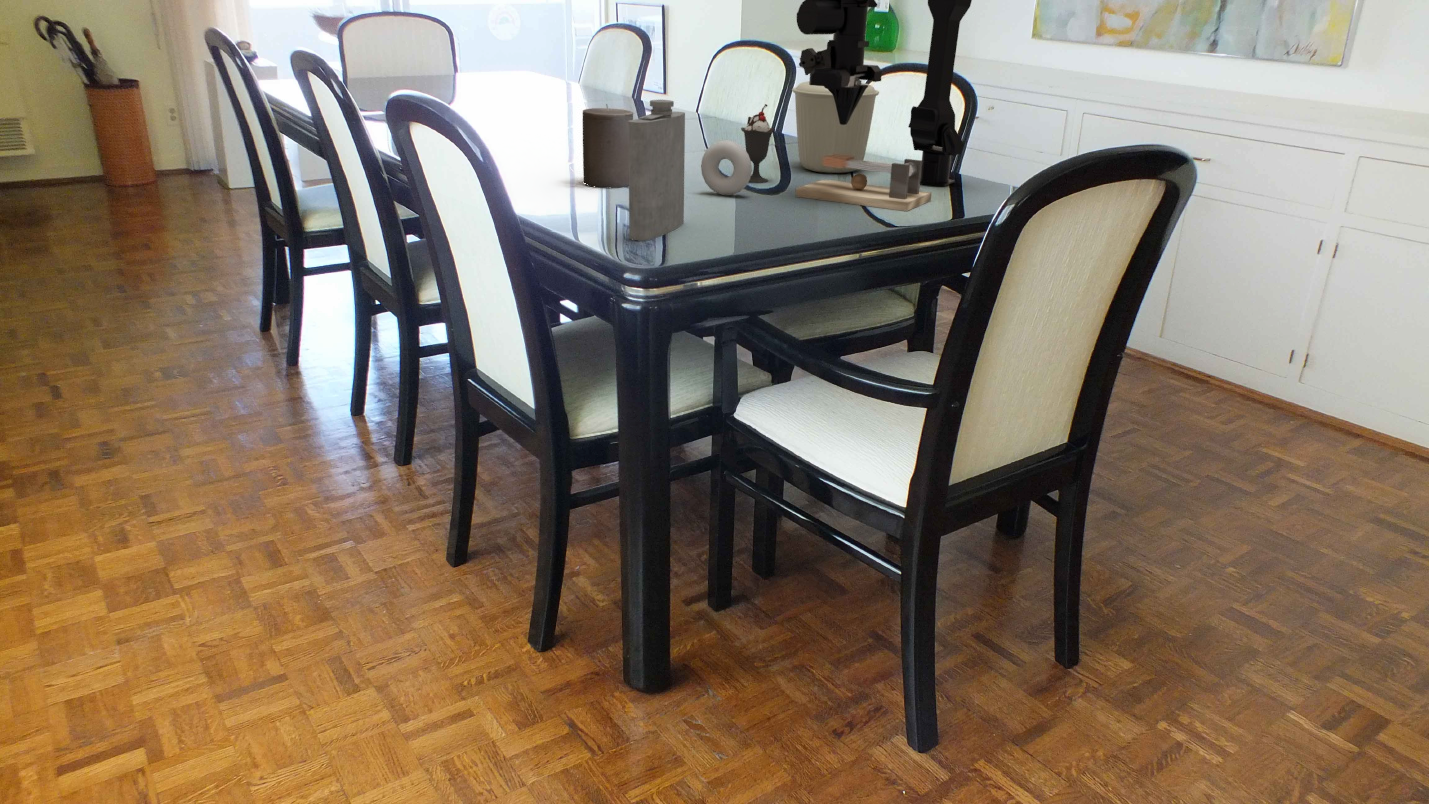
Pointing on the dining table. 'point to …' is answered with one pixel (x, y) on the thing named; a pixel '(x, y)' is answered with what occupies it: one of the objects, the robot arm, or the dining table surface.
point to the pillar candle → (606, 147)
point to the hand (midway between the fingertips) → (843, 124)
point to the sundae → (757, 142)
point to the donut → (740, 165)
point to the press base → (873, 190)
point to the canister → (830, 127)
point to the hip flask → (656, 172)
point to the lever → (861, 164)
